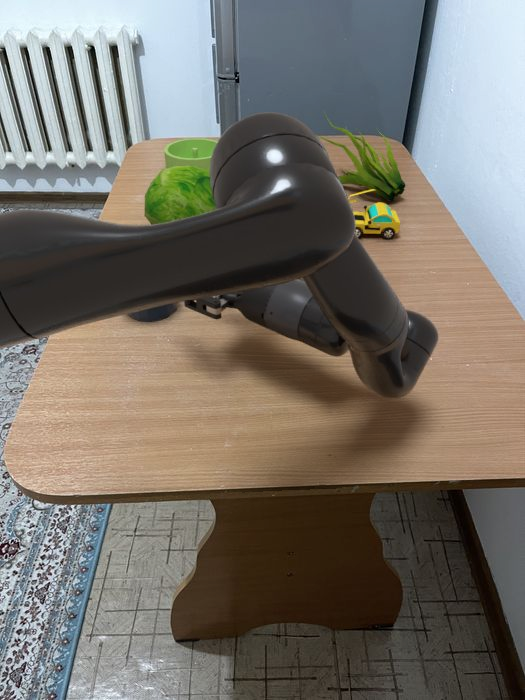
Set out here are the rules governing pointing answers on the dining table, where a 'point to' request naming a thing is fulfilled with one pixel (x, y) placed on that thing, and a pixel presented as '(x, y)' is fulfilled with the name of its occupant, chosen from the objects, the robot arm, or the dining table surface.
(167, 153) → the food container
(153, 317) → the bottle holder
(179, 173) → the lettuce
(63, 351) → the dining table surface
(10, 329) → the robot arm
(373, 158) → the decorative plant
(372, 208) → the toy car
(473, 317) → the dining table surface
